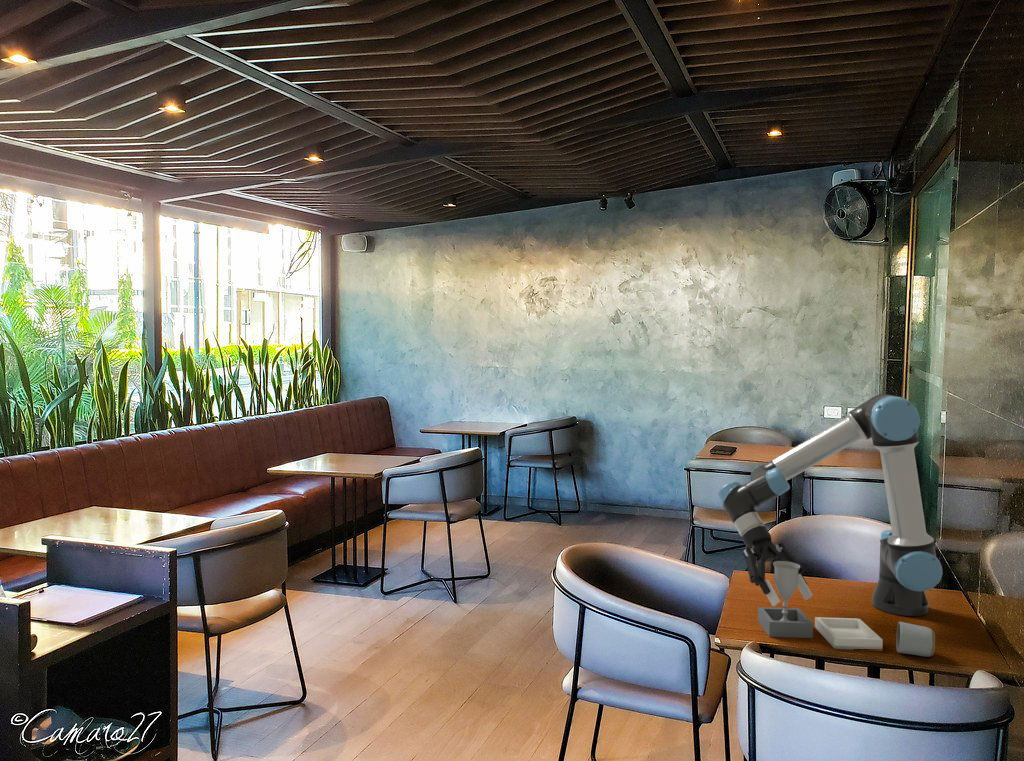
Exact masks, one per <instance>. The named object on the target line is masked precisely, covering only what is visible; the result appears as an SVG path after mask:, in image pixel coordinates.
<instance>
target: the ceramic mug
mask: <svg viewBox="0 0 1024 761" xmlns="http://www.w3.org/2000/svg"><path fill="white" fill-rule="evenodd" d="M935 648H936V634H935V631H934V630H933V629H932V628H930V627H927V626H925V625H924V626H923V625H918V624H913V623H910V622H904V621H898V623H897V628H896V652H897V653H898V654H904V655H905V654H906V655H912V656H919V657H925V658H927V657H932V656H934V654H935V650H936V649H935Z"/></svg>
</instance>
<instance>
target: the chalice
mask: <svg viewBox="0 0 1024 761" xmlns="http://www.w3.org/2000/svg"><path fill="white" fill-rule="evenodd" d="M772 564H773V567H774V570H773V571H774V572H773V573H774V574H773V575H774V576H773V577H774V578H773V580H774V584H775V588H776V590H777V592H778V596H779V597H780V598H782V599H783V602H782V604H781V606H782V608H783V611H782V613H783V618H782V619H781V620H779V621H789V620H788V619H787V614H788V613H789V612H788V611H787V608H789V604H788V600H789V599H791V598H792V597H793V595H794V593H795V592H796V589H797V588H798V587H797V585H798V570H799V568H800V565H798V564H796V563H793V562H787V561H775V562H772Z"/></svg>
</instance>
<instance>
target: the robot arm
mask: <svg viewBox="0 0 1024 761" xmlns="http://www.w3.org/2000/svg"><path fill="white" fill-rule="evenodd" d="M920 423H921V419H920V413H919V411H918V409H917V408H916V406H915V405H914V404H913V403H912V402H911V401H909V400H908V399H907V398H904V397H902V396H899V395H898V396H897V395H893V394H888V393H881V394H877V395H875V396H873V397H872V396H871V397H870V398H868V399H867V400H866V401H864V402H863V403H861V404H860V405H858V406H856V407H855V408H853V409H852V410H849V411H848V412H846V415H845V417H844V419H840V420H839V421H838V422H837V423H835V424H833V425H831V426H829V427H827V428H825V429H823V430H822V431H821V432H819V433H817V434H815V435H813V436H812V437H810V438H808V439H806V440H805V441H803V442H802V443H799V444H798V445H796V446H794V447H792V448H791V449H789V450H787V451H785V452H784V453H782V454H781V455H779V456H776V457H775V458H773V459H772V460H770V461H768V462H766V463H765V464H760V465H757V466H755V468H753V469H752V471H751V473H750V478H749V479H750V480H749V481H748V482H746V483H744V484H741V483H740V482H739V481H731V482H727V483H726V484H724V485H722V487H721V488H720V489H719V490H718V492H717V495H718V498H719V500H720V502H721V504H722V506H723V508H724V510H725V511H726V513H727V515H728V517H729V518H730V520H731V522H732V523H733V525H734V526H735V529H736V531H737V532H738V535H740V537H742V538H741V540H742V541H743V543H744V545H745V547H746V548H745V549H744V550H743V551H742V555H743V558H744V559H745V562H746V568H747V572H748V576H749V581H750V583H751V584H755V586H757V587H760V589H761V591H762V592H763V594H764V595H766V597H767V599H768V601H769V602H770V604H771V606H772V608H775V607H776V606H777V605H778V604H780V603H781V600H780V598H779V595H778V594H777V592H776V591H775V589H774V588H773V586H772V584H771V582H770V580H769V579H766V563H767V562H772V563H773V562H775V561H787V562H793V563H796V564H798V565H800V568H799V570H798V585H797V587H796V588H797V590H798V591H799V592H800V594H801V596H802V598H803V599H804V600H805V601H808V600H809V599H811V597H813V593H812V591H811V590H810V588H809V586H808V582H807V581H806V579H805V577H804V576H803V573H804V572H805V571H806V568H805V567H804V565H802V564H801V563H800V562H799V561H798V560H797V558H796V557H794V555H792V553H790V551H789V550H788V549H787V548H786V547H785V545H784V543H782V542H779V543H778V544H775V543H773V541H772V535H771V533H770V532H769V529H768V528H767V526H765V524H764V522H763V519H762V518H761V517H760V515H759V513H758V512H757V510H756V509H757V508H759V507H761V506H762V505H764V504H767V503H768V502H770V501H773V500H774V499H776V498H777V497H779V496H782V495H783V494H785V493H786V492H788V491H789V490H790V489H791V486H790V484H789V482H788V481H789V480H791V479H793V478H795V477H796V476H797V475H800V474H801V473H803V472H805V471H807V470H808V469H810V468H812V467H814V466H816V465H818V464H819V463H821V462H823V461H824V460H826V459H828V458H830V457H833V455H836V454H837V453H839V452H841V451H843V450H844V449H846V448H849V446H850V447H851V446H852V445H853V444H855V443H856V442H858V441H860V440H864V441H868V440H870V439H871V440H872V446H873V447H874V448H875V449H877V450H878V451H879V454H880V460H881V461H880V462H881V467H882V473H883V480H884V487H885V493H886V494H885V495H886V502H887V507H888V513H889V520H890V527H891V528H890V529H885V530H883V531H881V533H880V538H879V542H880V545H879V572H878V573H879V574H878V581H877V583H876V585H875V588H874V589H873V593H872V596H871V605H872V606H873V607H874V608H876V609H878V610H880V611H883V612H885V613H889V614H893V615H898V616H904V617H905V616H908V617H918V616H919V617H920V616H925V615H928V614H929V601H928V597H927V594H926V592H927V591H929V590H931V589H934V588H935V587H936V586H937V585H938V584H939V583H940V582H941V580H942V578H943V566H942V564H941V562H940V560H939V558H938V557H937V553H936V546H935V540H934V539H935V538H934V537H933V536H931V535H929V534H928V533H927V529H926V528H927V527H926V521H925V514H924V508H923V502H922V496H921V495H922V494H921V487H920V481H919V480H920V479H919V475H918V474H919V473H918V468H917V462H916V461H917V460H916V455H915V454H916V453H915V447H917V445H918V444H919V443H920V440H919V439H920V438H919V432H918V430H919V427H920ZM765 579H766V580H765Z"/></svg>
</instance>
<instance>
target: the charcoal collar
mask: <svg viewBox="0 0 1024 761" xmlns="http://www.w3.org/2000/svg"><path fill="white" fill-rule="evenodd" d="M782 611H783V607H763V606H762V607H761V606H758V607H757V622H758V623H759V625H760V626H761V627H762V629H763V630H764V631H765V633H766V634H767V635H768V637H771V638H772V637H773V638H796V639H797V638H798V639H799V638H801V639H813V637H814V636H813V635H814V623H813V622H812V620H811V619H810V618H809V617H808V616H807V615H806V614H805V613H804V612H803V611H802V609H801V608H796V607H794V608H793V607H791V608H790V607H787V611H788V612H789V613H788V614H787V619H788V620H789V621H779V620H781V619H782V618H783V613H782Z"/></svg>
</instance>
